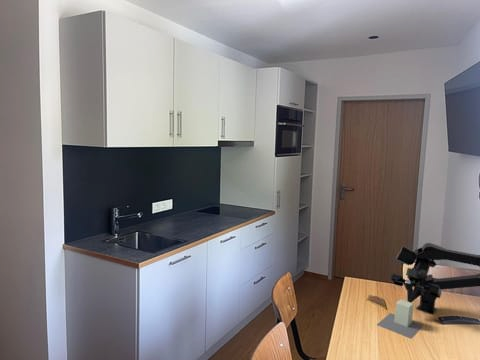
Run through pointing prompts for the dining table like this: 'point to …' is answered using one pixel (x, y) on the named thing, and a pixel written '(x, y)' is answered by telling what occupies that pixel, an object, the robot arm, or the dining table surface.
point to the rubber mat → (400, 326)
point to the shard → (376, 301)
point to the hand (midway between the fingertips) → (408, 303)
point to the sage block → (403, 312)
